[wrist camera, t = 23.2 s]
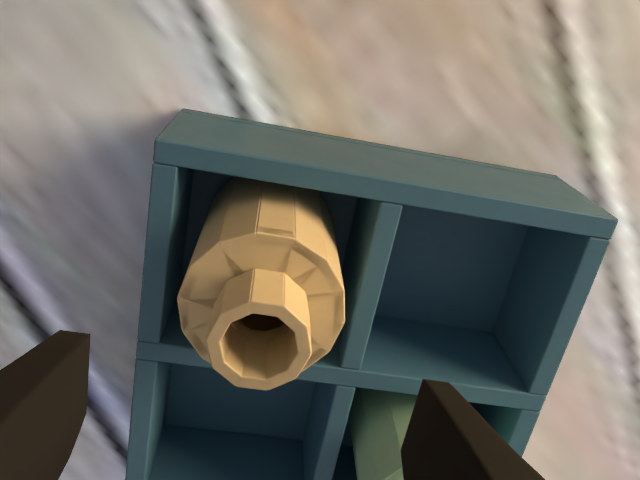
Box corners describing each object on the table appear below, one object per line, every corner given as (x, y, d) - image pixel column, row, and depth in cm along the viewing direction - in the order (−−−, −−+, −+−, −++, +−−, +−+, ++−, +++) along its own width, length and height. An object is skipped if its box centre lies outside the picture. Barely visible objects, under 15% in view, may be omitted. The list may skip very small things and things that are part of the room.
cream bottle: (319, 289, 23) (333, 431, 16) (199, 271, 22) (155, 410, 15) (343, 179, 21) (371, 280, 14) (214, 157, 21) (172, 249, 13)
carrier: (455, 461, 27) (485, 547, 23) (149, 424, 26) (122, 510, 22) (557, 175, 22) (619, 219, 18) (182, 108, 21) (154, 138, 16)
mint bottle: (438, 442, 26) (496, 619, 19) (336, 429, 26) (355, 607, 18) (467, 357, 24) (543, 515, 17) (358, 341, 24) (389, 498, 17)
